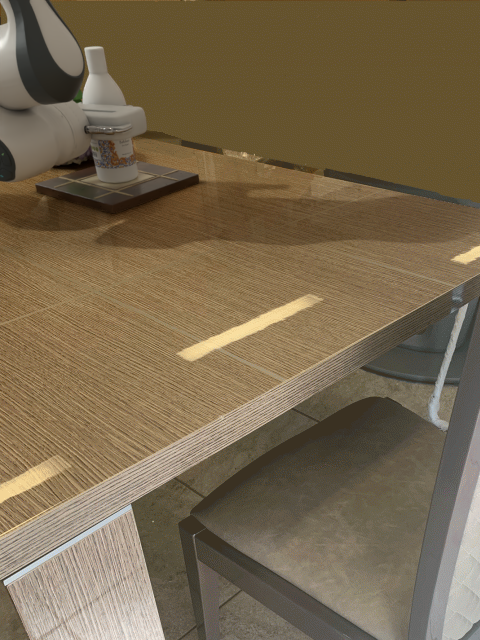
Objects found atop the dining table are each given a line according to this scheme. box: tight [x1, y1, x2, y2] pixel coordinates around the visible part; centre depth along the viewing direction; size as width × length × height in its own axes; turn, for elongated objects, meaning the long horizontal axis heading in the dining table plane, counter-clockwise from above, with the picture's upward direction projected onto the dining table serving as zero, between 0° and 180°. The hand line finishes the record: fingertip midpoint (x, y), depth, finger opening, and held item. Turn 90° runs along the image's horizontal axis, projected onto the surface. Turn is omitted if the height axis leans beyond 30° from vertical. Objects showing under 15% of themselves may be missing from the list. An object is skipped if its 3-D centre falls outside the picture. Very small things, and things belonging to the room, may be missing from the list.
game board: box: [34, 159, 200, 215], centre depth 114 cm, size 20×20×2 cm
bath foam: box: [82, 46, 138, 183], centre depth 107 cm, size 7×7×20 cm
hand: (108, 109), depth 107 cm, fingers closed on bath foam, 7 cm apart
